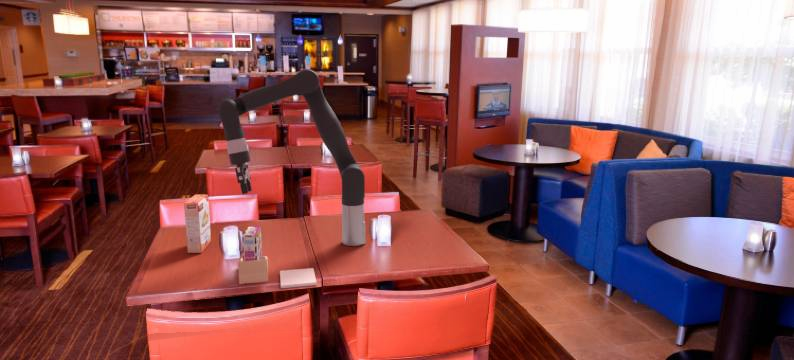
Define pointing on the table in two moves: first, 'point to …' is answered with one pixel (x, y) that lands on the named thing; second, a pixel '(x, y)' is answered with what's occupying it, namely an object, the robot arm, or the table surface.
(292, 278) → the ceramic tile
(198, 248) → the cracker box
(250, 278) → the kraft carton
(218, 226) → the table surface
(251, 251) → the candy bar box
